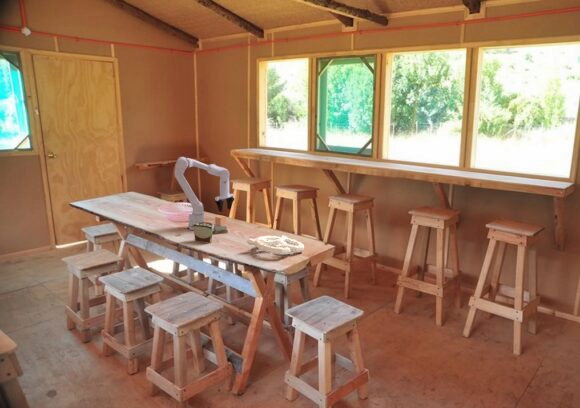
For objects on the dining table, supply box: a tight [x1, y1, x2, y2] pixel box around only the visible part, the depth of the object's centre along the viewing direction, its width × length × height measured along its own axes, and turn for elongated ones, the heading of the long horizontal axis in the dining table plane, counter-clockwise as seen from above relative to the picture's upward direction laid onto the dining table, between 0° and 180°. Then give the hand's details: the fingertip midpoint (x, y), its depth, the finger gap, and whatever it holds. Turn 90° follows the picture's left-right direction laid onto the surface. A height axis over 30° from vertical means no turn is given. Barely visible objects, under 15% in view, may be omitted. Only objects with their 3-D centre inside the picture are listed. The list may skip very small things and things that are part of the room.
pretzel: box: [246, 235, 305, 255], centre depth 230 cm, size 28×24×6 cm
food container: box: [192, 221, 214, 244], centre depth 242 cm, size 12×6×10 cm, turn 71°
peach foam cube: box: [214, 215, 227, 226], centre depth 259 cm, size 4×4×5 cm
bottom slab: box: [212, 228, 229, 235], centre depth 260 cm, size 7×7×2 cm
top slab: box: [213, 223, 227, 231], centre depth 260 cm, size 6×6×2 cm
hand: (224, 210), depth 269 cm, fingers open, 7 cm apart
